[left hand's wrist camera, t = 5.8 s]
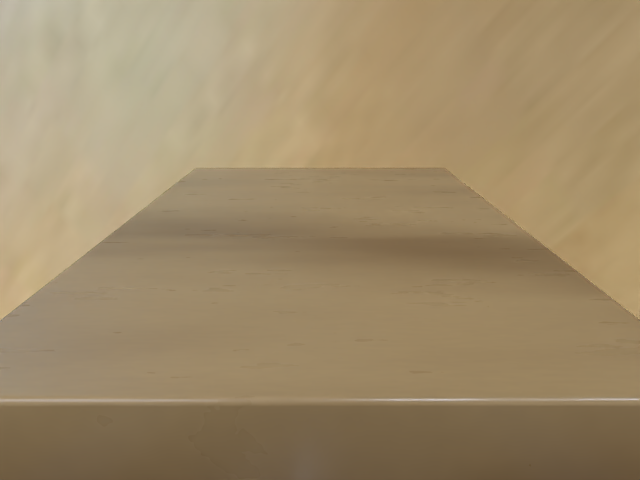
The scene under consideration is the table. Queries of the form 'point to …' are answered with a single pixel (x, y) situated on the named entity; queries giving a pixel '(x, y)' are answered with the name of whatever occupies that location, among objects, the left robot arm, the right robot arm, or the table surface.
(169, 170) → the table surface
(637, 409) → the box
